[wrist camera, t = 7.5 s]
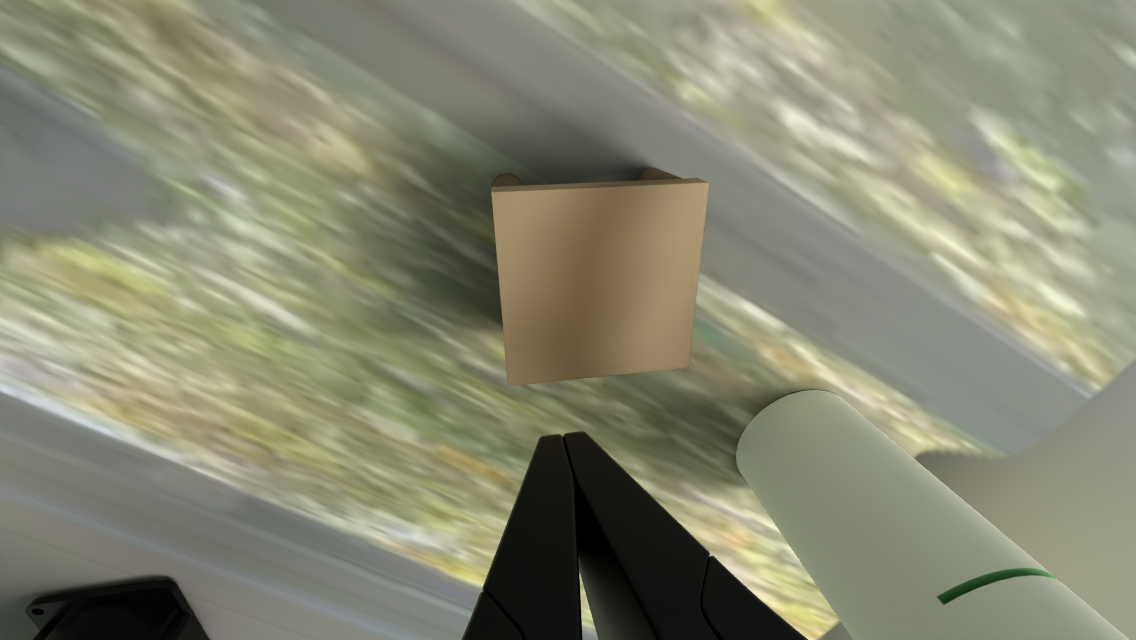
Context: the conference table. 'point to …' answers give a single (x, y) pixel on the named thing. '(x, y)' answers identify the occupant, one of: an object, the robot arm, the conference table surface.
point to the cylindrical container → (896, 535)
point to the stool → (598, 274)
